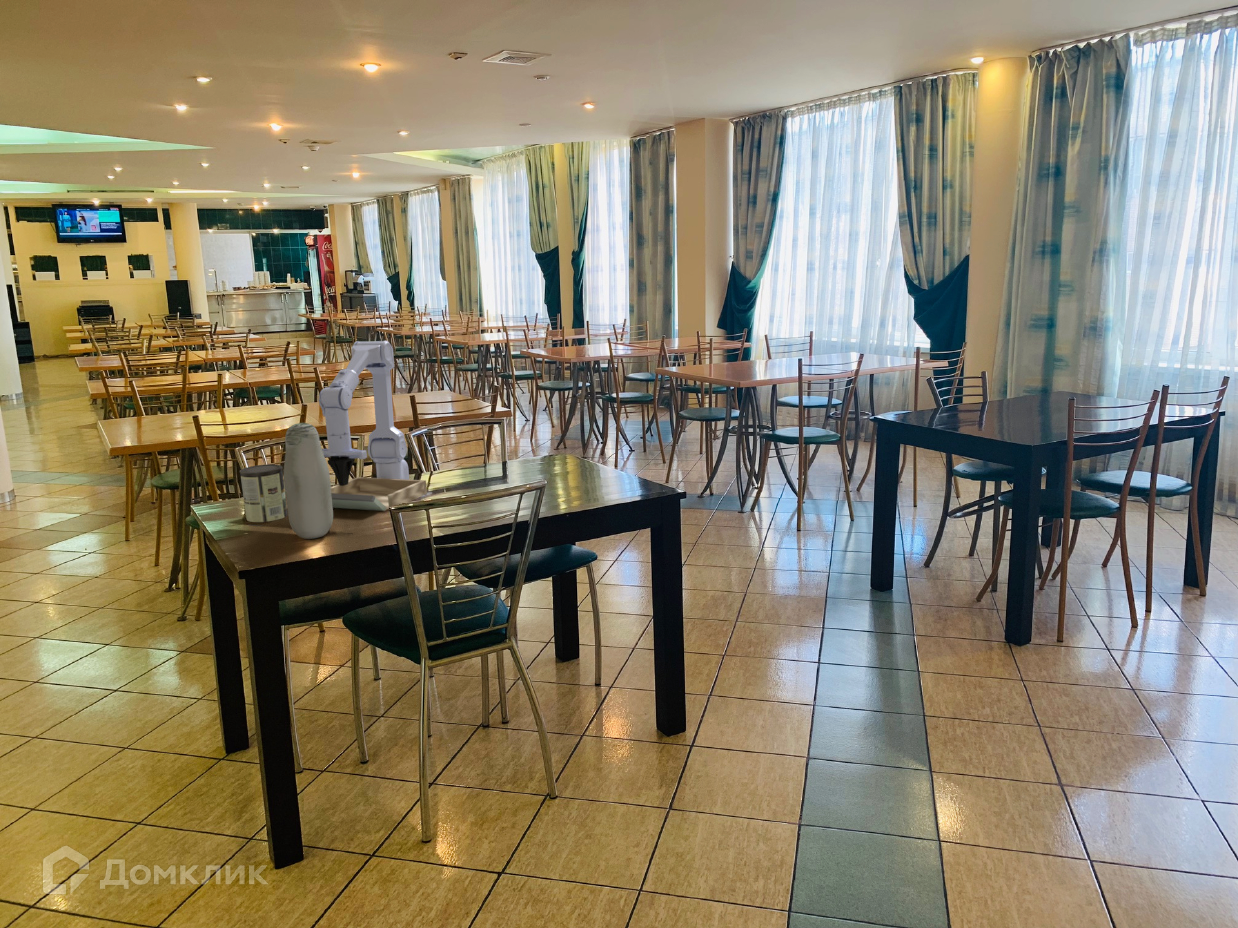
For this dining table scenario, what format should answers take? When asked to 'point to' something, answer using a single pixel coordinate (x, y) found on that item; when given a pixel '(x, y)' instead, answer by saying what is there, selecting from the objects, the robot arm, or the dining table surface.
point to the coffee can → (263, 493)
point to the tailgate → (356, 502)
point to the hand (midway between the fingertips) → (343, 484)
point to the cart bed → (384, 489)
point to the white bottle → (307, 483)
